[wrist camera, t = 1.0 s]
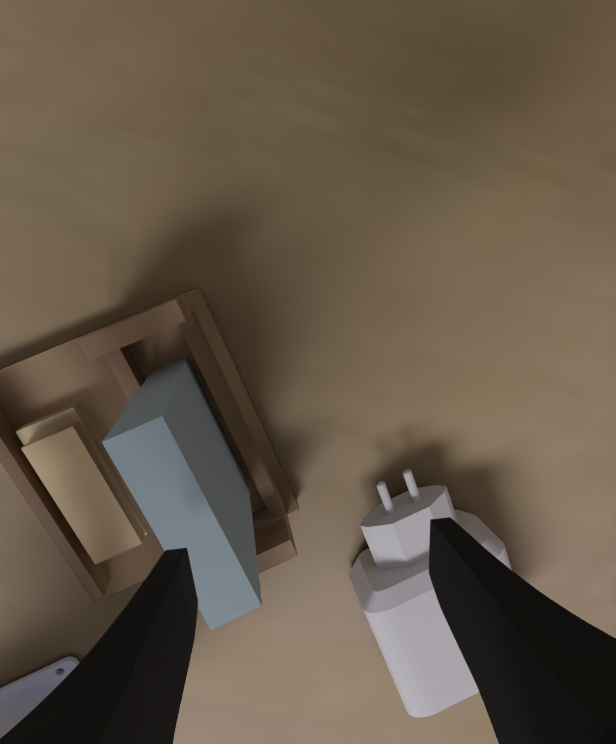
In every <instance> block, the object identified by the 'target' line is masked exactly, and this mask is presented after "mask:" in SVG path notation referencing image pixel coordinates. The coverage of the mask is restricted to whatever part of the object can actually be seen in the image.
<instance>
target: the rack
mask: <svg viewBox="0 0 616 744" xmlns="http://www.w3.org/2000/svg"><path fill="white" fill-rule="evenodd" d="M187 356H188V358H189V360H190V362H191V365H192V367H193V369H194V371H195V373H196V375H197V377H198V379H199V381H200V383H201V385H202V387H203V389H204V391H205V393H206V395H207V397H208V399H209V401H210V404H211V406H212V408H213V410H214V412H215V414H216V416H217V418H218V420H219V422H220V424H221V426H222V428H223V430H224V432H225V434H226V436H227V438H228V440H229V443H230V445H231V447H232V449H233V451H234V453H235V455H236V457H237V459H238V461H239V463H240V465H241V467H242V469H243V471H244V473H245V475H246V477H247V480H248V483H249V492H250V501H251V510H252V519H253V528H254V537H255V546H256V555H257V564H258V573H261V572H263V571H265V570H267V569H269V568H271V567H274V566H276V565H278V564H280V563H282V562H284V561H286V560H289V559H291V558H293V557H295V556H297V551H296V547H295V543H294V540H293V536H292V532H291V528H290V524H289V520H288V516H287V514H289V513H291V512H293V511H295V510H297V509H299V506H298V502H297V500H296V497H295V495H294V493H293V491H292V489H291V486H290V484H289V482H288V480H287V478H286V476H285V473H284V471H283V469H282V467H281V465H280V462H279V460H278V458H277V456H276V454H275V452H274V449H273V447H272V445H271V443H270V441H269V438H268V436H267V434H266V432H265V430H264V427H263V425H262V423H261V421H260V419H259V417H258V414H257V412H256V410H255V408H254V406H253V403H252V401H251V399H250V397H249V395H248V393H247V390H246V388H245V386H244V384H243V382H242V379H241V377H240V375H239V373H238V371H237V368H236V366H235V364H234V362H233V360H232V358H231V355H230V353H229V351H228V349H227V347H226V344H225V342H224V340H223V338H222V336H221V334H220V331H219V329H218V327H217V325H216V323H215V320H214V318H213V316H212V314H211V312H210V310H209V307H208V305H207V303H206V301H205V299H204V296H203V294H202V292H201V290H200V288H196V289H194V290H191V291H189V292H187V293H184V294H182V295H179V296H177V297H174V298H172V299H170V300H167V301H165V302H162V303H160V304H157V305H155V306H153V307H150V308H148V309H145V310H143V311H140V312H138V313H136V314H133V315H131V316H128V317H126V318H123V319H121V320H119V321H116V322H114V323H111V324H109V325H106V326H104V327H102V328H99V329H97V330H94V331H92V332H89V333H87V334H85V335H82V336H80V337H77V338H75V339H72V340H70V341H68V342H65V343H63V344H60V345H58V346H55V347H53V348H51V349H48V350H46V351H43V352H41V353H38V354H36V355H34V356H31V357H29V358H26V359H24V360H21V361H19V362H17V363H14V364H12V365H9V366H7V367H4V368H2V369H0V461H1V463H2V464H3V466H4V467H5V469H6V470H7V472H8V473H9V475H10V477H11V478H12V480H13V481H14V483H15V484H16V486H17V487H18V489H19V490H20V492H21V493H22V495H23V496H24V498H25V499H26V501H27V502H28V504H29V505H30V507H31V508H32V510H33V511H34V513H35V514H36V516H37V517H38V519H39V520H40V522H41V523H42V525H43V527H44V528H45V530H46V531H47V533H48V534H49V536H50V537H51V539H52V540H53V542H54V543H55V545H56V546H57V548H58V549H59V551H60V552H61V554H62V555H63V557H64V558H65V560H66V561H67V563H68V564H69V566H70V567H71V569H72V570H73V572H74V573H75V575H76V576H77V578H78V580H79V581H80V583H81V584H82V586H83V587H84V589H85V590H86V592H87V593H88V595H89V596H90V598H91V599H92V601H93V602H94V601H96V600H98V599H100V598H102V597H104V595H105V592H107V594H108V595H109V596H111V595H113V594H115V593H117V592H119V591H121V590H124V589H126V588H128V587H130V586H132V585H134V584H137V583H139V582H141V581H143V580H145V579H146V578H147V576H148V575H149V573H150V572H151V570H152V569H153V567H154V566H155V564H156V563H157V561H158V560H159V558H160V557H161V555H162V554H163V553H164V552H165V551H164V549H163V547H162V545H161V544H160V542H159V540H158V538H157V537H156V535H155V533H154V532H153V530H152V528H151V526H150V528H149V532H148V534H147V535H145V536H144V539H143V542H142V544H140V545H138V546H135V547H133V548H131V549H129V550H127V551H124V552H122V553H120V554H118V555H116V556H113V557H111V558H109V559H107V560H105V561H102V562H100V563H98V564H96V565H95V563H94V562H93V560H92V559H91V557H90V556H89V554H88V553H87V551H86V549H85V548H84V546H83V545H82V543H81V542H80V540H79V538H78V537H77V535H76V534H75V532H74V531H73V529H72V528H71V526H70V524H69V523H68V521H67V520H66V518H65V517H64V515H63V513H62V512H61V510H60V509H59V507H58V506H57V504H56V502H55V501H54V499H53V498H52V496H51V495H50V493H49V492H48V490H47V488H46V487H45V485H44V484H43V482H42V481H41V479H40V477H39V476H38V474H37V473H36V471H35V470H34V468H33V467H32V465H31V463H30V462H29V460H28V459H27V457H26V456H25V454H24V452H23V451H22V449H21V448H22V447H23V446H24V445H23V443H22V442H21V440H20V438H19V437H18V435H17V434H16V431H17V430H18V429H20V428H21V427H22V426H24V425H26V424H28V423H31V422H33V421H36V420H38V419H40V418H43V417H45V416H47V415H50V414H52V413H54V412H57V411H59V410H62V409H64V408H66V407H69V406H71V405H73V404H76V403H78V402H79V403H80V405H81V406H82V408H83V410H84V412H85V413H86V415H87V417H88V419H89V420H90V422H91V424H92V425H93V427H94V429H95V431H96V432H97V434H98V436H99V438H100V439H101V441H103V440H104V438H105V437H106V436H107V434H108V433H109V431H110V430H111V429H112V427H113V426H114V424H115V423H116V421H117V420H118V419H119V417H120V416H121V414H122V413H123V411H124V410H125V409H126V407H127V406H128V404H129V403H130V402H131V400H132V399H133V397H134V396H135V394H136V393H137V392H138V390H139V389H140V387H141V386H142V384H143V383H144V382H145V380H146V379H147V377H148V376H149V375H150V373H151V372H152V371H154V370H156V369H158V368H161V367H163V366H165V365H168V364H170V363H173V362H175V361H177V360H180V359H182V358H184V357H187Z"/></svg>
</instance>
